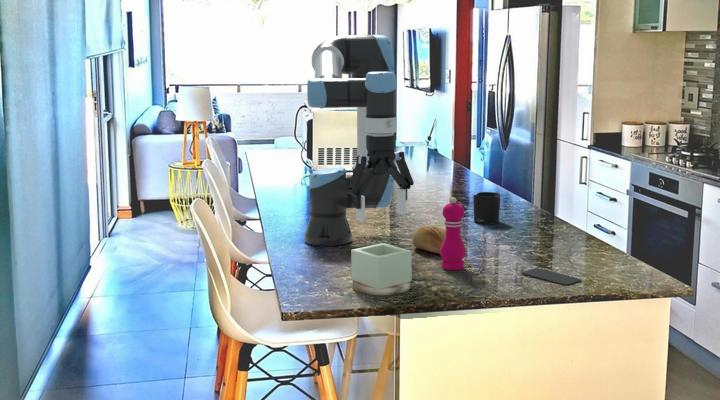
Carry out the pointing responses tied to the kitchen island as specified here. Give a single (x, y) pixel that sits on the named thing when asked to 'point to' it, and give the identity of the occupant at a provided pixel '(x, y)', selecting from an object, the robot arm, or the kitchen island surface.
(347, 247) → the kitchen island surface
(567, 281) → the phone
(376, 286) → the square ring
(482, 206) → the pen holder
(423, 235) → the bread roll
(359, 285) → the post stand
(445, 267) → the pepper mill
